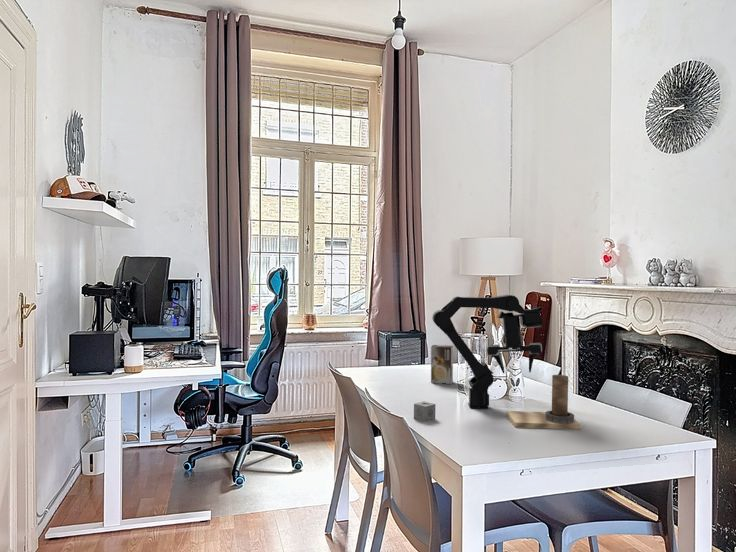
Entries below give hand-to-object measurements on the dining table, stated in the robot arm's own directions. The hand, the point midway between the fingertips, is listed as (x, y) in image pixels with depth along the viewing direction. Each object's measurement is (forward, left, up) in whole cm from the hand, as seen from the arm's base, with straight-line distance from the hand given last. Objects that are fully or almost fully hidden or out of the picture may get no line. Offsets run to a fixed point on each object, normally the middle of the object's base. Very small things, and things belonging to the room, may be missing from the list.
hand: (516, 372), depth 189 cm
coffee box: (-24, +41, -13) cm, 49 cm away
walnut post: (+9, -20, -11) cm, 25 cm away
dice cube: (-34, -18, -13) cm, 40 cm away
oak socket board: (+4, -18, -13) cm, 22 cm away
